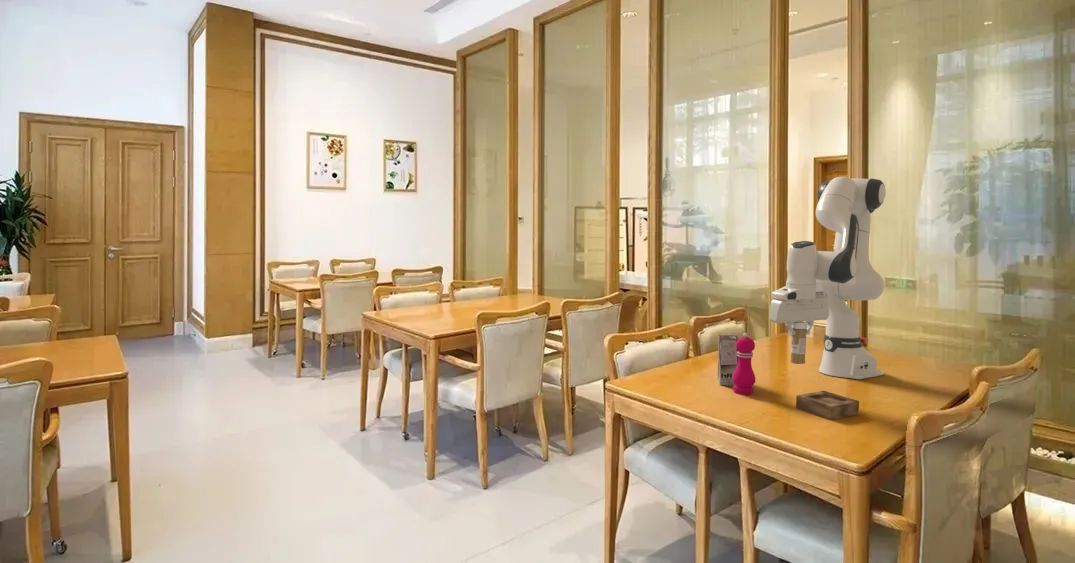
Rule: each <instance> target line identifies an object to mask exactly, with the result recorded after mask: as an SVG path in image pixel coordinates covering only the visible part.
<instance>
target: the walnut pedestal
mask: <svg viewBox="0 0 1075 563" xmlns="http://www.w3.org/2000/svg"><path fill="white" fill-rule="evenodd" d="M795 402H796V403H795V408H796V409H797V410H800V411H803V412H806V413H809V414H811V415H815V416H817V417H819V418H820V417H821V418H823V419H826V420H829V421H834V420H839V419H843V418H847V417H853V416H857V415H858V416H859V414H860V413H859V412H860V400H856V399H853V398H850V397H847V396H843V395H839V394H836V393H834V392H833V393H832V392H829V391H827V390H821V391H820V390H819V391H814V392H808V393H803V394H797V395H796V401H795Z"/></svg>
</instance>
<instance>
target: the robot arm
mask: <svg viewBox="0 0 1075 563" xmlns="http://www.w3.org/2000/svg"><path fill="white" fill-rule="evenodd" d="M886 192H887V191H886V186H885V184H884V182H883V180H881V179H877V178H860V177H859V178H857V177H855V178H854V177H853V178H850V177H848V176H847V177H846V176H837V177H834V178H833V179H830V180H826V181H823V182H822V183H821V184H820V185H819V186H818V190H817V194H816V195H817V204H816V208H815V218H816V221H818V223H819V224H821V226H822V227H824V228H825V229H827V230H829V231H832V232H835V235H834V236H835V237H834V244H833V251H828V250H827V251H825V250H817V245H816V243H815V242H813V241H809V240H801V241H796V242H793V243H791V244H790V245H789V248H788V250H787V251H788V252H787V259H786V272H787V276H786V277H787V278H786V281H785V286H783V287H781V288H778V289H776V290H773V291H772V292H771V298H773V299H772V300H771V301H770V308H769V319H770V321H771V322H772V323H775V324H784V325H785V327H786V330H787V336H790V337H792V336H795V332H796V331H795V330H793V328H792V326H793V322H802V321H803V322H806V323H807V328H806V336H808V335H809V336H810V334H811V329H812V328H813V326H814V325H815V324H814V323H815V322H814V321H825V334H824V336H823V346H824V347H823V348H824V349H823V352H822V356H821V362H820V364H819V365H820V366H819V369H818V372H820V373H822V374H824V375H826V376H831V377H832V376H833V377H839V378H848V379H854V380H855V379H856V380H863V379H868V378H875V377H879V376H883V375H885V374H884V373H885V372H884V371H883V370H880V369H878V368H877V366H878V365H877V358H876V356H874V355H873V354H871V353H870V352H869V351H868V350H867V349H865V348H864V347H863V344H868V343H869V338H866V337H860V326H861V324H860V322H861V319H860V315H859V314H858V313H857V312H856V311H855V310H853V309H852V308H850V307H849V306H848V304H847V302H846V300H855V301H873V300H877V299H879V298H880V296H882V294H883V292H884V289H885V282H884V279H883V277H882V276H881V274H880V273H879V272H877V271H876V270H875V268H874V267H873V266H872V265H871V262H870V260H869V254H868V253H869V252H868V250H869V242H870V233H871V223H872V222H871V219H872V218H871V214H872V213H874V211H876V210H877V209H878V208H880V207H881V206H882V205H883V203H884V200H885V199H886Z"/></svg>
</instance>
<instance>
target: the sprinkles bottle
mask: <svg viewBox="0 0 1075 563" xmlns="http://www.w3.org/2000/svg"><path fill="white" fill-rule="evenodd" d="M791 326H792V325H791ZM792 328H793V330H795V331H796V332H795V336H791V342H790V343H791V344H790V345H791V346H790V360H789V361H790V363H791V364H794V365H803V364H805V363H806V354H807V353H806V352H807V350H806V349H807V335H806V328H807V323H806V321H802V322H793V326H792Z"/></svg>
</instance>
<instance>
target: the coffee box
mask: <svg viewBox="0 0 1075 563" xmlns="http://www.w3.org/2000/svg"><path fill="white" fill-rule="evenodd" d="M738 339H739V336H738V335H734V334H733V335H730V334H729V335H727V334H725V335H722V334H719V335H718V344H717V345H718V347H717V348H718V349H717V350H718V352H717V354H718V355H717V380H718V384H719V386H731V387H734V385H735V383H734V382H733V380H732V378H733V374H734V371H735V369H736V367H737V365H738V356H737V351H738V350H737V348H736V341H737V340H738Z"/></svg>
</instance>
